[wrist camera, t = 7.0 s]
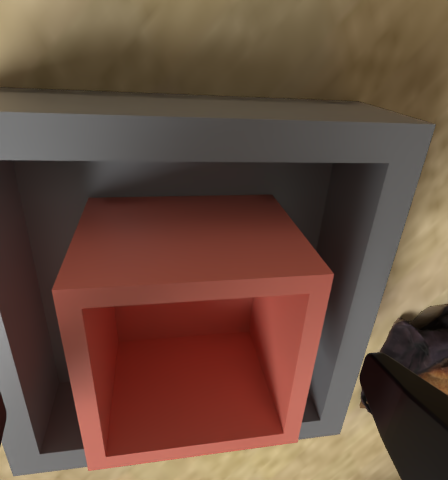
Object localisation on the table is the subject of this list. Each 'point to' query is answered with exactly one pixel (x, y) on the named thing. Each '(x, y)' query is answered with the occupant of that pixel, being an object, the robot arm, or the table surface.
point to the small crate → (188, 325)
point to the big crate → (191, 184)
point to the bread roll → (420, 347)
